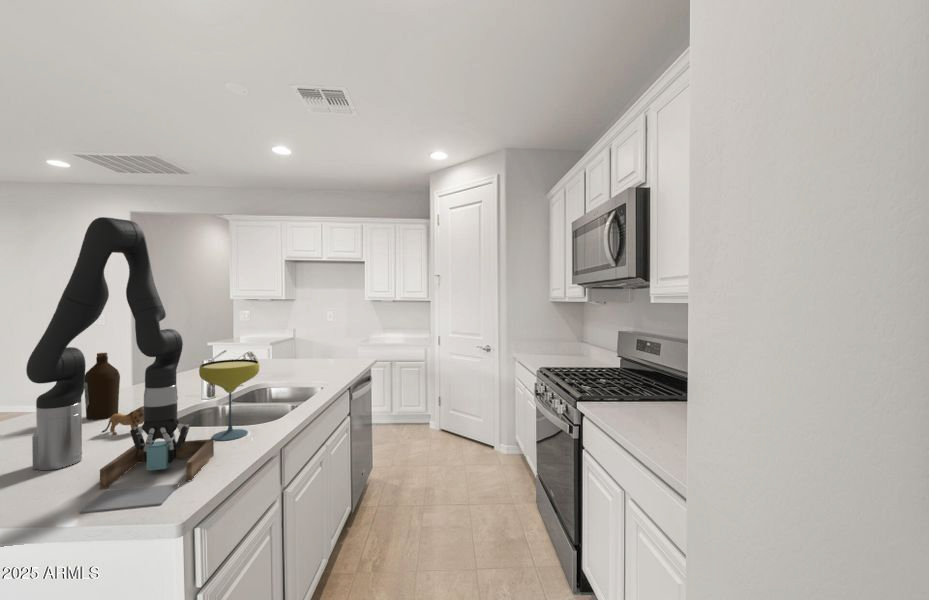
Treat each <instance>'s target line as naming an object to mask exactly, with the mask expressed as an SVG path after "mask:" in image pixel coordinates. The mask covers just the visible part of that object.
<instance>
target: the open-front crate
mask: <svg viewBox="0 0 929 600" xmlns="http://www.w3.org/2000/svg"><path fill="white" fill-rule="evenodd" d="M214 441H215V440H214V439H212V438H209V439H208V438H207V439H196V440H185V442H184V444H182V445H181V446H180V447H177V448H176V459H178V460H187V462H186V463H185V464H186V467H185V468H186V470H185V471H186V473H185V474H186V482H188V481H187V480H192V479H193V478H194V479H195V477H196V476H197V475H198V474H199V473H200V472H201V470H202V469H203V468H204V467H205V466H206V465H207V464H208V463H209V461H210V460H211V459H212V458H213V457H214V456H215V455H214V454H215V453H214V448H215V447H214V446H215V445H214ZM211 457H212V458H211ZM187 458H190V459H187ZM210 458H211V459H210ZM176 459H175V460H174V461H176ZM209 459H210V460H209ZM139 462H141V463H145V461H144V451H143V450H137V449H136V447H135V444H134V445H133V446H132V447H130V448H128V449H127V450H126V451H124V452H123V453H121V454H120V455H118V456H117V457H116V458H114V459H113V460H112V461H110V462H108V463H107V464H106V465H104V466H103V467H101V468H100V469H99V489H100V490H106V489H107V488H109V487H110V486H111V485H112V484H113V483H115V482H116V481H117V480H119V479H120V478H121V477H123V475H124V473H125V472H126V471H127V472H129V471H130V470H131V469H132V468H133V467H135V466H136V465H137V464H140V463H139ZM135 464H136V465H135ZM205 464H206V465H205ZM134 465H135V466H134ZM204 465H205V466H204ZM203 466H204V467H203ZM202 467H203V468H202ZM130 468H131V469H130ZM201 468H202V469H201ZM129 469H130V470H129ZM199 471H200V472H199ZM127 472H126V473H127ZM198 472H199V473H198ZM126 473H125V474H126ZM197 473H198V474H197ZM196 474H197V475H196ZM195 475H196V476H195ZM120 476H121V477H120ZM194 476H195V477H194ZM119 477H120V478H119ZM194 479H193V480H194ZM193 480H192V481H193ZM114 481H115V482H114ZM109 485H110V486H109Z"/></svg>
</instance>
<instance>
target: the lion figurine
mask: <svg viewBox="0 0 929 600" xmlns="http://www.w3.org/2000/svg"><path fill="white" fill-rule="evenodd" d="M119 424H120V425H122V426H130V430H132V429H133V428H135V427H136V426H138V427H139V426H140V425H143V424H144V405H143V406H140V407H138V408H136V409H135V410H133V411H132V410H131V411H130V412H129V413H127V414H122V413H118V414H114V415H112V416H111V418H109V420H108V423H107V426H106V428H104V430H102V431H101V433H106V432H107V431H108V429H109V428H110V429H109V431H110V432H111V434H112V436H113V435H114V436H115V435H118V432H116V429H115V428H116V426H118V425H119Z"/></svg>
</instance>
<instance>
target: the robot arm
mask: <svg viewBox="0 0 929 600" xmlns="http://www.w3.org/2000/svg"><path fill="white" fill-rule="evenodd" d="M147 244H148V243H147V240H146V236H145V233H144V230H143V229H142V227H141V226H140V225H139V224H138V223H137V222H136V221H132V220H128V219H121V218H113V217H106V216H105V217H103V216H100V217H97V218H95V219H94V220H92V221H91V223H89V225H88V227H87V229H86V231H85V233H84V237H83V240H82V244H81V246H80V247H81V248H80V250H79V254H78V257H77V260H76V263H75V266H74V268H73V270H72V273H71V275H70V279H69V280H68V282H67V285H66V287H65V288H64V290H63V292H62V295H61V297H60V299H59V301H58V304H57V306H56V309H55V312H54V314H53V315H52V317H51V319H50V322H49V323H48V326H47V328H46V329H45V331H44V333H43V335H42V336H41V338H40V339H39V340H38V342H37V344H36V346H35V348H34V349H33V351H32V352H31V353H30V355H29V358H28V360H27V362H26V367H25V369H26V376H27V378H28V380H29V381H30V382H32V383H35V384H39V385H40V384H49V383H50V384H51V383H55V384H54V385H53V386H52V387H51V388H50V389H48V390H47V391H46V392H44V393H42V394H41V395H38V397H37V398H36V401H35V405H36V406H35V409H36V412H35V413H36V414H35V415H36V417H35V418H36V420H35V421H36V433H34V434H33V435H32V437H31V438H32V440H31V441H32V442H31V443H32V444H31V447H32V449H31V450H32V453H31V454H32V470H38V471H39V470H40V471H51V470H57V469H63V468H66V466H67V467H70V466H73V465H76V464H78V463H79V461H80V460H81V459H82V460H83V448H82V447H83V438H82V436H83V434H82V432H83V431H82V430H83V427H82V426H83V424H82V423H83V422H82V421H83V420H82V417H83V416H82V414H83V413H82V398H83V397H82V396H83V395H84V393H85V390H84V384H85V374H86V366H87V365H86V357H85V356H84V353H83V352H82V351H81V349H79V348H77V347H75V346H74V347H71V346H70V347H69V346H68V345H69V344H70V343H72V341H73V340H74V339H75V338H76V337H78V336H79V335H81V334H82V333H83V332H85V330H87V329H88V328H89V327H91V326H92V325H93V324H94V323H95V322H96V321H97V320H99V318H100V317H101V315H102V313H103V311H104V309H105V307H106V305H107V302H108V300H109V297H110V296H109V294H110V293H109V291H110V290H109V286H108V283H107V280H106V277H105V268H106V265H107V263H108V260H109V258H110V257H111V255H112V254H113V253H118V254H123V256H124V257H125V260H126V262H127V265H128V269H129V271H128V272H129V274H128V279H127V283H126V289H125V296H126V301H127V304H128V307H129V309H130V311H131V313H132V317H133V318H134V331H135V342H136V346H137V348H138V350H139V351H140V353H142V354H143V355H144V356H145V357H148V358H155V359H154V361H153V362H152V364H150V365H148V366H147V367H146V368H145V373H144V393H143V406H144V422H143V423H142V424H141V425H138V426H136V427H135V428H133V429H132V430H131V429H130V430H129V433H130V435H131V436H130V437H131V438H132V442H133V444H134V445H135V447H136V449H137V450H143V451H144V461H145V462H144V463H146V464H147V448H148V447H150V446H151V445H152V444H154V442H156V441H157V440H159V439H160V440H164V441H165V442H166V443H167V445H168V448H169V450H168V463H171V464H173V463H174V462H175V461H176V460H175V459H176V448H177V447H180V446H181V445H182V444H184V442H185V441H186V439H187V436H188V433H189V430H190V427H191V426H190V424H189V423H186V424H184V423H180V421H179V419H178V399H179V397H178V396H179V395H178V386H177V368H178V365H179V362H180V359H181V355H182V352H183V345H184V343H183V337H182V335H181V334H180V333H179V332H178V331H177V330H175V329H172V328H168V329H167V328H164V329H161V326H160V325H161V324H160V322H161V321H162V320H164V319H165V318H166V316H167V313H166V310H165V307H164V306H163V303H162V300H161V297H160V295H159V293H158V289H157V287H156V284H155V280H154V275H153V271H152V265H151V264H152V263H151V260H150V259H151V258H150V256H149V255H150V254H149V250H148V245H147ZM177 429H178V432H179V435H178V438H177V440H176V434H175V431H176V430H177ZM143 432H144V433H145V434H146V435H147V437H146V439H144V436H143ZM145 440H146V441H145ZM82 460H81V461H82ZM81 461H80V462H81ZM173 461H174V462H173ZM77 462H78V463H77ZM75 463H76V464H75ZM72 464H73V465H72ZM69 465H70V466H69ZM62 467H63V468H62Z"/></svg>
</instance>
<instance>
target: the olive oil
mask: <svg viewBox="0 0 929 600" xmlns="http://www.w3.org/2000/svg"><path fill="white" fill-rule="evenodd" d="M108 357H109V356H108V352H97V353H96V359H95V360H96V362H95V364H94V365H93V366H92V367H91V368H89V370H87V371H86V372H85V384H84V401H85V417H86V420H88V421H100V420H106V419H110V418H111V416H112V415H114V414H119V400H120V384H121V383H120V382H121V381H120V380H121V373H120V372H119V370H118V369H117V368H116V367H115V366H113V365H112V364H111V363H110V362H109V361H108V359H109V358H108Z"/></svg>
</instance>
